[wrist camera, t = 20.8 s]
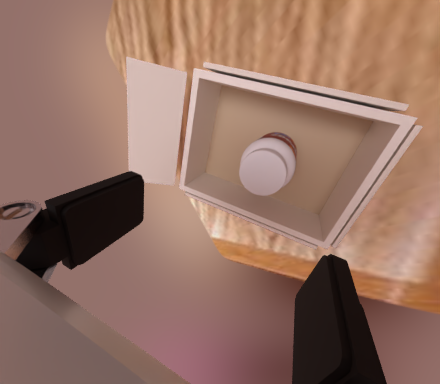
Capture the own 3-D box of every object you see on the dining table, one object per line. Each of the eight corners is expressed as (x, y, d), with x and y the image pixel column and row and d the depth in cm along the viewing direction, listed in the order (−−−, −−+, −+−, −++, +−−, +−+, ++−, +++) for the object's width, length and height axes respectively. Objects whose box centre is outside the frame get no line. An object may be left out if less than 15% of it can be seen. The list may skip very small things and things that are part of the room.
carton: (395, 110, 21) (436, 110, 15) (324, 225, 29) (330, 256, 23) (220, 71, 27) (195, 59, 20) (200, 177, 35) (178, 192, 28)
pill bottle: (306, 153, 26) (311, 178, 17) (272, 180, 29) (260, 213, 20) (276, 121, 26) (263, 127, 16) (246, 152, 29) (220, 171, 20)
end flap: (187, 72, 20) (126, 56, 19) (174, 185, 27) (129, 180, 26) (187, 72, 21) (127, 57, 19) (174, 183, 28) (130, 178, 26)
